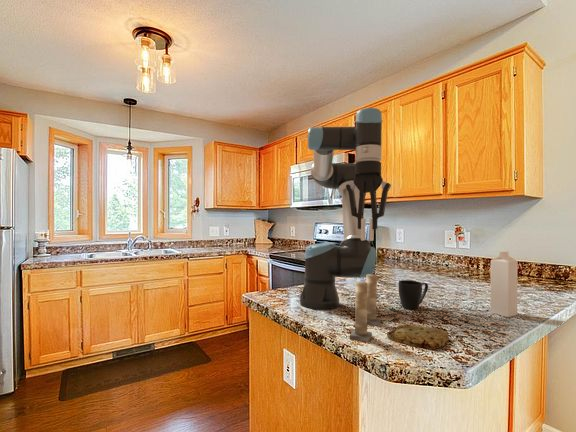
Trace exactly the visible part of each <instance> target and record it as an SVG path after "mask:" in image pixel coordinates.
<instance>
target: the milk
mask: <svg viewBox="0 0 576 432" xmlns="http://www.w3.org/2000/svg"><path fill="white" fill-rule="evenodd" d="M518 264H519V263H518V260H516V259H514V258H513V257H512V256H510V255H509V251H500V252H499V256H496V257H494V258H492V259H491V260H490V288H489V289H490V302H489V303H490V307H489V308H490V311H489V312H490V313H491V314H494V315H498V316H503V317H506V318H510V317H514V316H518Z"/></svg>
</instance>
